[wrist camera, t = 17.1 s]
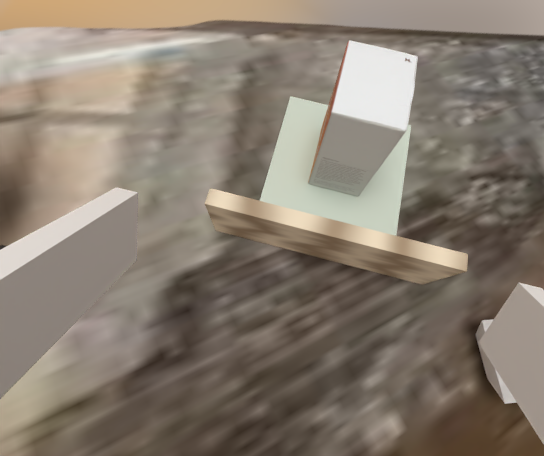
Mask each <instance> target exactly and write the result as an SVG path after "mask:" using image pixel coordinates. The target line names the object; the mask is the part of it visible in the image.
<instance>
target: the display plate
mask: <svg viewBox="0 0 544 456" xmlns="http://www.w3.org/2000/svg"><path fill="white" fill-rule="evenodd" d="M328 106H329V105H325V104H320V103H316V102H312V101H308V100H304V99H300V98H296V97H292V96H291V97H290V100H289V103H288V107H287V110H286V113H285V117H284V120H283V124H282V127H281V130H280V134H279V137H278V141H277V144H276V147H275V151H274V154H273V157H272V161H271V164H270V168H269V171H268V174H267V178H266V181H265V185H264V188H263V191H262V195H261V198H260V201H262V202H266V203H270V204H274V205H278V206H282V207H286V208H289V209H293V210H297V211H301V212H305V213H309V214H313V215H317V216H321V217H325V218H328V219H332V220H336V221H340V222H344V223H348V224H352V225H356V226H360V227H364V228H367V229H371V230H375V231H379V232H383V233H387V234H391V235H395V236H396V233H397V226H398V218H399V211H400V204H401V196H402V189H403V182H404V174H405V167H406V160H407V152H408V145H409V138H410V131H411V125H408V127H407V131H406V132H405V134H404V135H403V136H402V138H401V139H400V140H399V142H398V143H397V145H396V146H395V147H394V148H393V150H392V151H391V153H390V154H389V155H388V157H387V158H386V160H385V161H384V162H383V164H382V165H381V166H380V168H379V169H378V171H377V172H376V173H375V174H374V176H373V177H372V179H371V180H370V181H369V183H368V184H367V185H366V187H365V188H364V190H363V191H362V192H361V194H360V195H359V196H354V195H350V194H346V193H342V192H338V191H335V190H331V189H327V188H323V187H319V186H315V185H311V184H309V183H308V181H309V177H310V174H311V170H312V166H313V162H314V158H315V154H316V150H317V146H318V142H319V137H320V132H321V128H322V124H323V121H324V118H325V115H326V112H327V109H328Z"/></svg>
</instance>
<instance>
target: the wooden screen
mask: <svg viewBox="0 0 544 456" xmlns="http://www.w3.org/2000/svg"><path fill="white" fill-rule="evenodd" d="M205 205H206V208H207V210H208V213H209V215H210V218H211V220H212V222H213V225H214V227H215V230H216V231H219V232H223V233H227V234H231V235H235V236H238V237H242V238H246V239H250V240H254V241H258V242H261V243H265V244H269V245H273V246H277V247H281V248H284V249H288V250H292V251H296V252H300V253H303V254H307V255H311V256H315V257H319V258H323V259H326V260H330V261H334V262H338V263H342V264H345V265H349V266H353V267H357V268H361V269H365V270H368V271H372V272H376V273H380V274H384V275H387V276H391V277H395V278H399V279H403V280H407V281H410V282H414V283H418V284H425V283H429V282H432V281H435V280H439V279H442V278H446V277H449V276H453V275H456V274H460V273H463V272H467V261H468V254H465V253H461V252H457V251H453V250H449V249H445V248H441V247H438V246H434V245H430V244H426V243H422V242H418V241H414V240H410V239H406V238H402V237H399V236H395V235H391V234H387V233H383V232H379V231H375V230H371V229H367V228H364V227H360V226H356V225H352V224H348V223H344V222H340V221H336V220H332V219H328V218H325V217H321V216H317V215H313V214H309V213H305V212H301V211H297V210H293V209H289V208H286V207H282V206H278V205H274V204H270V203H266V202H262V201H258V200H254V199H250V198H247V197H243V196H239V195H235V194H231V193H227V192H223V191H219V190H215V189H211V188H210V190H209V193H208V196H207V199H206V201H205Z"/></svg>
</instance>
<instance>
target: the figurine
mask: <svg viewBox="0 0 544 456" xmlns="http://www.w3.org/2000/svg"><path fill="white" fill-rule="evenodd" d="M493 320H494V319H493ZM493 320H482V321H481V323H480V325H479V328H478V330H477V332H476V334H475V335H476V339H477V342H478V346H479V350H480V354H481V357H482V361H483V365H484V369H485V372H486V376H487V379H488V381H489V382H490V383H491V385H492V386H493V388H494V389H495V390H496V392H497V393H498V395H499V396H500V398H501V399H502V400H503V402H504V403H505V404H506V403H516V400H515V399H514V397H513V396H512V394H511V393H510V391H509V389H508V388H507V386H506V385H505V383H504V382H503V380H502V378H501V377H500V375H499V374H498V372H497V371H496V369H495V367H494V366H493V364H492V363H491V361H490V360H489V358H488V357H487V355H486V353H485V352H484V350H483V349H482V347H481V346H480V344H479V341H480V339H481V338H482V336H483V335H484V333H485V332H486V330H487V329H488V327H489V326H490V324H491V323H492V321H493Z"/></svg>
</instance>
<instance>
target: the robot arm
mask: <svg viewBox="0 0 544 456" xmlns="http://www.w3.org/2000/svg"><path fill="white" fill-rule="evenodd" d="M137 223H138V192H133V191H129V190H125V189H121V188H117V187H116V188H114V189H112V190H111V191H109V192H107V193H105V194H103V195H101V196H99V197H98V198H96V199H94V200H92V201H90V202H88V203H86V204H85V205H83V206H81V207H79V208H77V209H75V210H73V211H71V212H70V213H68V214H66V215H64V216H62V217H60V218H58V219H57V220H55V221H53V222H51V223H49V224H47V225H45V226H44V227H42V228H40V229H38V230H36V231H34V232H32V233H31V234H29V235H27V236H25V237H23V238H21V239H19V240H17V241H16V242H14V243H12V244H10V245H8V246H3V245H2V246H0V399H1V398H2V397H3V396H4V395H5V394H6V393H7V392H8V390H9V389H10V388H11V387H12V386H13V385H14V384H15V383H16V382H17V381H18V380H19V379H20V378H21V377H22V376H23V375H24V374H25V373H26V372H27V371H28V370H29V369H30V368H31V367H32V366H33V365H34V364H35V363H36V362H37V361H38V360H39V359H40V358H41V357H42V356H43V355H44V354H45V353H46V352H47V351H48V350H49V349H50V348H51V347H52V346H53V345H54V344H55V343H56V342H57V341H58V340H59V339H60V338H61V337H62V336H63V335H64V334H65V333H66V332H67V331H68V330H69V329H70V328H71V327H72V326H73V325H74V324H75V322H76V321H77V320H78V319H79V318H80V317H81V316H82V315H83V314H84V313H85V312H86V311H87V310H88V309H89V308H90V307H91V306H92V305H93V304H94V303H95V302H96V301H97V300H98V299H99V298H100V297H101V296H102V295H103V294H104V293H105V292H106V291H107V290H108V289H109V288H110V287H111V286H112V285H113V284H114V283H115V282H116V281H117V280H118V279H119V278H120V277H121V276H122V275H123V274H124V273H125V272H126V271H127V270H128V269H129V268H130V267H131V266H132V265H133V264H134V263H135V262H136V261H137ZM479 344H480V346H481V347H482V349H483V350H484V352H485V353H486V355H487V357H488V358H489V360H490V361H491V363H492V364H493V366H494V367H495V369H496V371H497V372H498V374H499V375H500V377H501V378H502V380H503V382H504V383H505V385H506V386H507V388H508V389H509V391H510V393H511V394H512V396H513V397H514V399H515V400H516V402H517V403H518V405H519V407H520V408H521V410H522V411H523V413H524V414H525V416H526V418H527V419H528V421H529V422H530V424H531V425H532V427H533V428H534V430H535V432H536V433H537V435H538V436H539V438H540V439H541V441H542V443H543V444H544V290H543V289H542V288H539V287H535V286H531V285H526V284H522V283H518V284H517V286H516V287H515V289H514V290H513V292H512V293H511V295H510V296H509V298H508V299H507V301H506V302H505V304H504V305H503V307H502V308H501V310H500V311H499V313H498V314H497V316H496V317H495V319H494V320H493V321H492V323H491V324H490V326H489V327H488V329H487V330H486V332H485V333H484V335H483V336H482V338H481V339H480V341H479Z"/></svg>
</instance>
